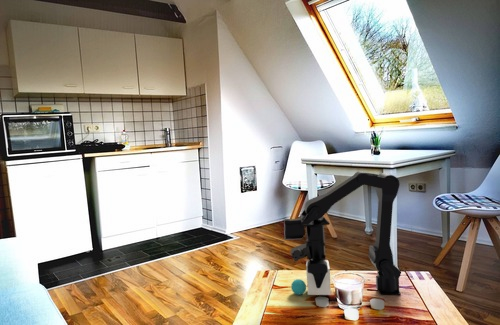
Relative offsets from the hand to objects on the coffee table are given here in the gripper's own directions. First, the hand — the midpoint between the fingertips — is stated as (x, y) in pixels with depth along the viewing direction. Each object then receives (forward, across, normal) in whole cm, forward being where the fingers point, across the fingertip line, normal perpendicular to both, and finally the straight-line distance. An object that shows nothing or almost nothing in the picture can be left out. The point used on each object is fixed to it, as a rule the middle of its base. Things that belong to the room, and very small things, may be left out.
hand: (318, 282), depth 123 cm
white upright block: (+2, 0, 0) cm, 2 cm away
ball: (+2, 0, -7) cm, 7 cm away
